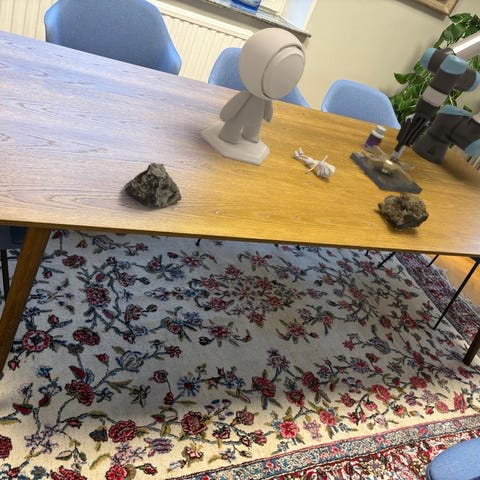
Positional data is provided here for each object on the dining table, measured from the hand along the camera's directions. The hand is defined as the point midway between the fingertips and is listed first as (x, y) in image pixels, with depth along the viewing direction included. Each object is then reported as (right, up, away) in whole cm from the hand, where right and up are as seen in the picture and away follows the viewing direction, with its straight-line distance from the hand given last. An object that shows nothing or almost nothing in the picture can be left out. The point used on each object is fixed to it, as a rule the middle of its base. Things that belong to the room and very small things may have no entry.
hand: (393, 159), depth 169 cm
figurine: (-34, -8, -24) cm, 43 cm away
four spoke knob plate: (-4, -5, -7) cm, 9 cm away
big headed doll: (-59, -1, -32) cm, 67 cm away
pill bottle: (-6, +6, +11) cm, 14 cm away
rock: (-77, -21, -68) cm, 105 cm away
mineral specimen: (-11, -24, -31) cm, 41 cm away
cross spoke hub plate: (-5, -7, -5) cm, 10 cm away
